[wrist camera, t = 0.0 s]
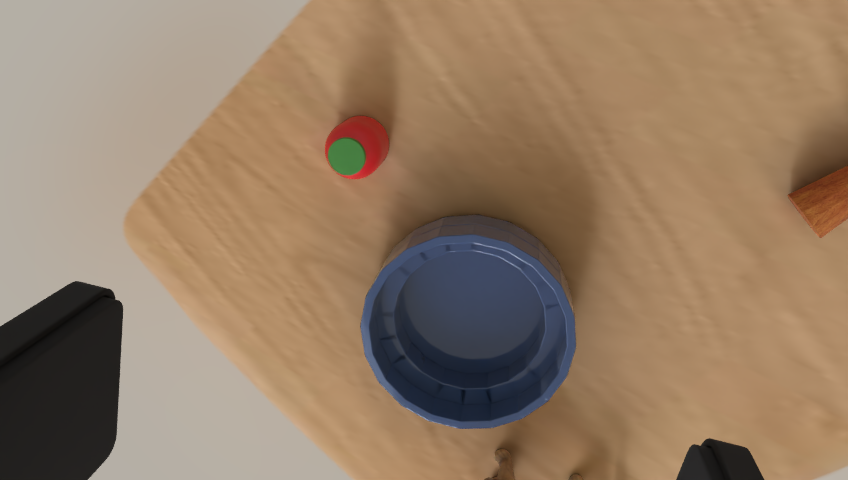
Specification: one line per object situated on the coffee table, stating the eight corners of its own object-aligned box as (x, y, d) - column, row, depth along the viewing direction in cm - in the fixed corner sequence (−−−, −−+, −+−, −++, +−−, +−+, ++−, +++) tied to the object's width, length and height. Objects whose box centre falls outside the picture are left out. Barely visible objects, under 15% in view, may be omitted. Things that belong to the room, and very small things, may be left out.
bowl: (395, 192, 48) (381, 212, 43) (594, 238, 47) (602, 264, 43) (361, 365, 53) (346, 400, 48) (541, 410, 52) (543, 450, 47)
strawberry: (339, 110, 47) (321, 120, 42) (393, 122, 47) (380, 134, 42) (331, 163, 48) (312, 179, 44) (383, 175, 48) (370, 192, 44)
